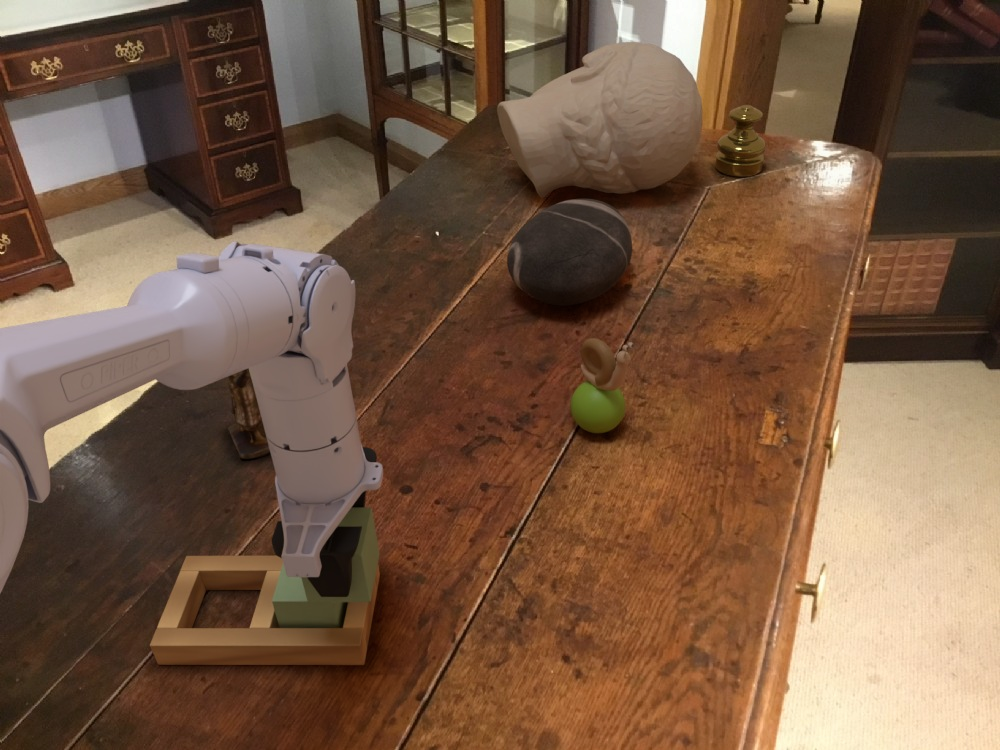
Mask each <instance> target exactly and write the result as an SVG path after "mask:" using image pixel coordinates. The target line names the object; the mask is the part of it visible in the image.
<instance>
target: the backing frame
mask: <svg viewBox="0 0 1000 750" xmlns="http://www.w3.org/2000/svg"><path fill="white" fill-rule="evenodd" d="M282 565H283V560H282V558H280V557H278V556H277V555H276V554H274V555H186V556H185V558H184V560H183V563H182V566H181V568H180V570H179V572H178V576H177V578H176V580H175V582H174V585H173V588H172V590H171V593H170V594H169V598H168V600H167V602H166V604H165V607H164V609H163V611H162V614H161V616H160V619H159V621H158V624H157V626H156V629H155V631H154V634H153V636H152V638H151V641H150V643H149V647H150V649H151V653H152V654H153V656H154V658H155V661H156V663H157V665H158V666H364V665H365V664H366V657H367V651H368V647H369V640H370V634H371V629H372V624H373V623H372V622H373V617H374V611H375V605H376V599H377V596H378V595H377V594H378V588H379V583H380V577H381V573H380V567H379V565H378V566H377V571H376V576H375V582H374V587H373V592H372V597H371V602H348V605H347V610H346V615H345V620H344V624H343V628H280V627H279V623H278V620H277V617H276V613H275V610H274V607H273V604H272V599H273V596H274V592H275V589H276V585H277V582H278V578H279V575H280V572H281V568H282ZM206 591H260V592H259V595H258V599H257V602H256V605H255V607H254V608H255V609H254V612H253V616H252V618H251V622H250V625H249V627H214V628H213V627H193V626H194V624H195V621H196V618H197V615H198V613H199V611H200V608H201V604H202V602H203V600H204V598H205V594H206Z"/></svg>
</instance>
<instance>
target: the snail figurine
mask: <svg viewBox="0 0 1000 750" xmlns="http://www.w3.org/2000/svg"><path fill="white" fill-rule="evenodd" d="M633 347H634V343H633V342H632V341H629V342H628V343H627V344H623V346H622V348H621V349H622V350H620V351H619V352H617V354H616V356H615V354H614V352H613V351H612V348H611V347H610V346H609V345H608V344H607V343H606V342H605V341H603V340H602V339H600V338H596V337H590V338H587V339H586V340H585V341H583V342H582V345H581V348H580V356H581V357H580V358H581V360H582V362H583V363H582V364H581V365H580V368H581V369H580V370H581V372H582V374H583V376H584V378H585V379H586V381H584V382H582V383H581V384H580V385H578V386H577V387H576V389H575V390H574V392H573V394H572V396H571V399H570V413H571V415H572V418H573V421H574V422H575V423H576V424H577V425H578V426H579V427H580V429H583V430H585V431H587V432H588V433H592V434H605V433H607V432H610V431H613V429H615V428H617V426H618V425H620V423H621V422H622V420H623V418H624V416H625V413H626V400H625V396H624V394H623V392H622V390H621V389H620V387H621V386H622V384H623V382H624V380H625V378H626V375H627V372H628V367H629V366H630V364H631V361H632V356H631V351H632V349H633ZM628 350H629V352H628Z"/></svg>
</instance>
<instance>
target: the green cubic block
mask: <svg viewBox="0 0 1000 750" xmlns="http://www.w3.org/2000/svg"><path fill="white" fill-rule="evenodd" d="M272 604H273V607H274V610H275V613H276V617H277V620H278V623H279V627H280V628H343V624H344V620H345V615H346V610H347V605H348V602H307V598H306V594H305V590H304V586H303V582H302V579H301V577H287V575H286V571H285V568H284V564H283V565H282V568H281V572H280V575H279V578H278V582H277V585H276V589H275V592H274V596H273V599H272Z"/></svg>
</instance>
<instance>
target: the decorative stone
mask: <svg viewBox="0 0 1000 750" xmlns="http://www.w3.org/2000/svg"><path fill="white" fill-rule="evenodd" d="M632 255H633V242H632V233H631V231H630V227H629V226H628V223H627V221H626V219H625V217H624V216H623V215H622V213H621V212H619V210H618V209H616V208H615V207H614V206H612V205H610V204H609V203H606V202H604V201H601V200H597V199H593V198H575V199H574V198H573V199H567V200H564V201H560V202H558V203H555V204H553V205H550V206H548V207H546V208H544V209H543V210H542V211H540V212H538V213H536V214H535V215H534V216H533V217H532V218H530V220H528V221H527V222H526V223H524V224H523V226H521V227H520V229H518V231H517V232H516V234H515V235H514V237H513V238H512V241H511V243H510V245H509V248H508V252H507V258H506V265H507V270H508V273H509V276H510V278H511V280H512V282H514V284H515V285H516V286H517V288H519V289H520V290H521V291H522V292H523V293H524V294H526V295H528V296H530V297H531V298H532V299H535V300H537V301H539V302H542V303H545V304H548V305H553V306H558V307H559V306H560V307H567V306H574V305H580V304H584V303H587V302H589V301H592V300H595V299H596V298H599V297H600V296H602V295H604V294H605V293H606V292H608V291H609V290H610V289H612V288H613V287H614V286H615V285H616V284H617V283H618V282H619V280H620V279H621V278H622V277H623V275H624V274H625V273H626V271H627V269H628V268H629V265H630V262H631V259H632Z"/></svg>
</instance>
